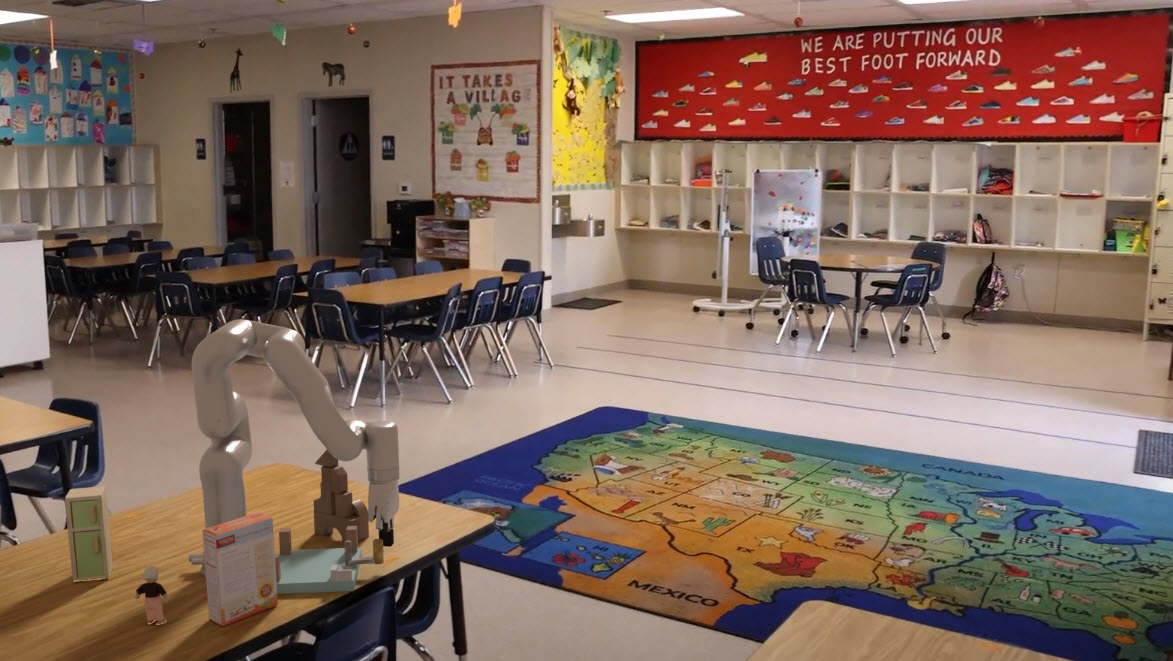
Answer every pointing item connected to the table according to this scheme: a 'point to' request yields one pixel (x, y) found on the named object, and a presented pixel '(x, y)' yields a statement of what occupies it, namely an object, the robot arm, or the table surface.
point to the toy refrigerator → (89, 533)
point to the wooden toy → (337, 502)
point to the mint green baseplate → (315, 567)
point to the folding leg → (376, 558)
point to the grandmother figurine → (152, 595)
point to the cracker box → (240, 568)
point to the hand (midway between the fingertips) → (386, 545)
